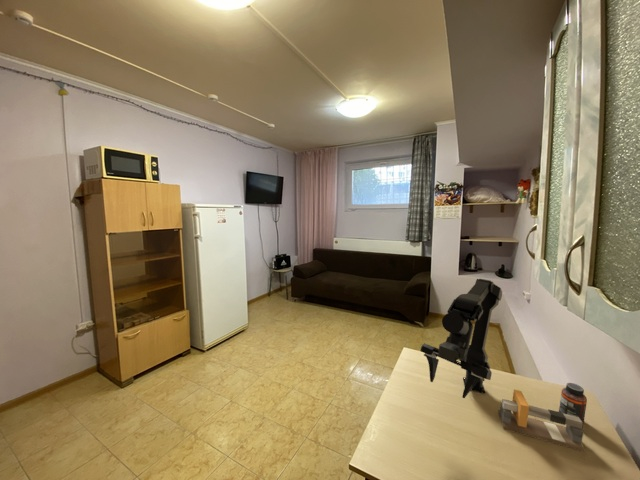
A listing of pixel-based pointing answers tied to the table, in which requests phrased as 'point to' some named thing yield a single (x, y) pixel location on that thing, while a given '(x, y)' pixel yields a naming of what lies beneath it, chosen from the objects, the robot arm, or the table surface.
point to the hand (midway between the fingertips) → (446, 389)
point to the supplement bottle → (573, 401)
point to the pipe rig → (544, 425)
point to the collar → (521, 408)
